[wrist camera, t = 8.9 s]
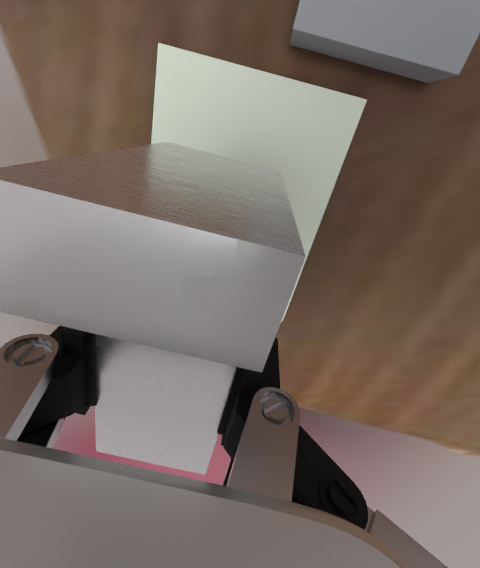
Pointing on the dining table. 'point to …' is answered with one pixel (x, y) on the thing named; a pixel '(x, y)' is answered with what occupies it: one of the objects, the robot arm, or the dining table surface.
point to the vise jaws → (391, 34)
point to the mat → (258, 125)
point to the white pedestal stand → (153, 282)
